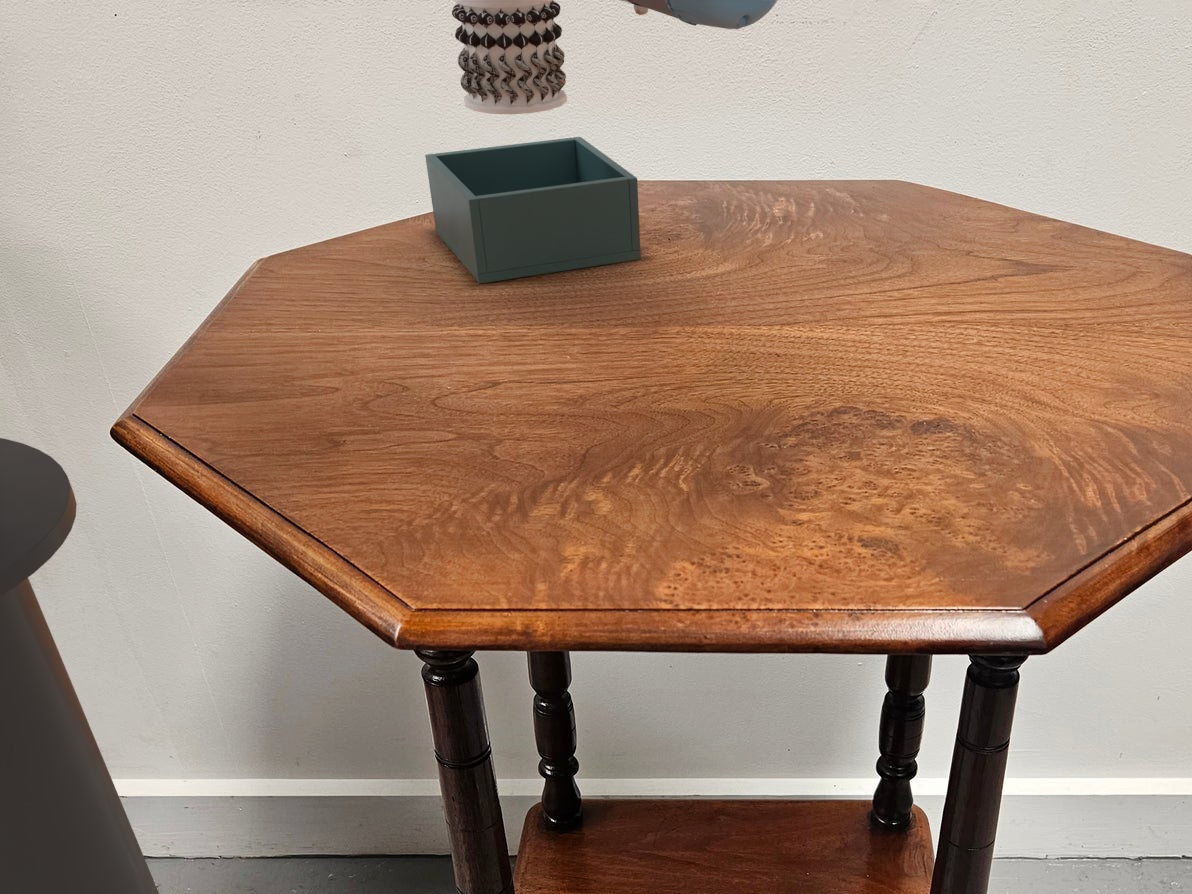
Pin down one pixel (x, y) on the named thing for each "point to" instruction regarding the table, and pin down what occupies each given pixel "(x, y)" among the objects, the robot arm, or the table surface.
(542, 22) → the bracelet display cylinder
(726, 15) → the robot arm
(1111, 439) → the table surface
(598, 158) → the bin
